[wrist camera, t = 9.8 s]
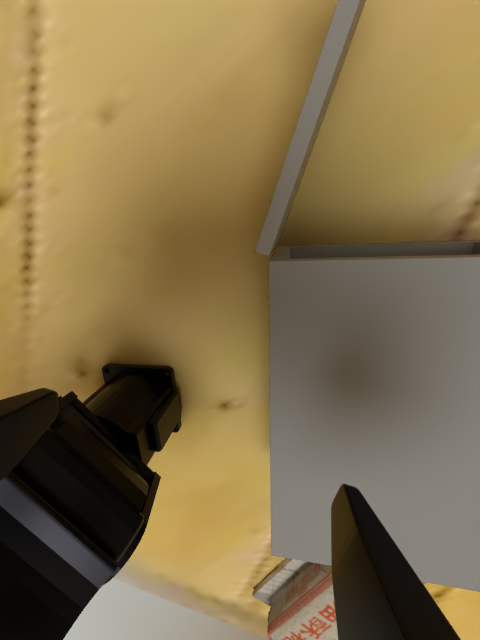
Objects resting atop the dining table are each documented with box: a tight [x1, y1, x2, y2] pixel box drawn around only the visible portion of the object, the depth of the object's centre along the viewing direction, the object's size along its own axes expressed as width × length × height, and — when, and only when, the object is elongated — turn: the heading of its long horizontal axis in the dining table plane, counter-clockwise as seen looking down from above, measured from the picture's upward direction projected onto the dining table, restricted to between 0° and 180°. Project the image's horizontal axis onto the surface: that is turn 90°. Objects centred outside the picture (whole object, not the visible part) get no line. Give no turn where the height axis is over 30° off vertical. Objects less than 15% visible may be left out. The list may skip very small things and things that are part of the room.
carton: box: [269, 240, 480, 592], centre depth 16 cm, size 12×18×8 cm
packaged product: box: [253, 558, 426, 640], centre depth 26 cm, size 18×5×10 cm
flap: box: [255, 0, 366, 256], centre depth 10 cm, size 12×1×12 cm, turn 162°
